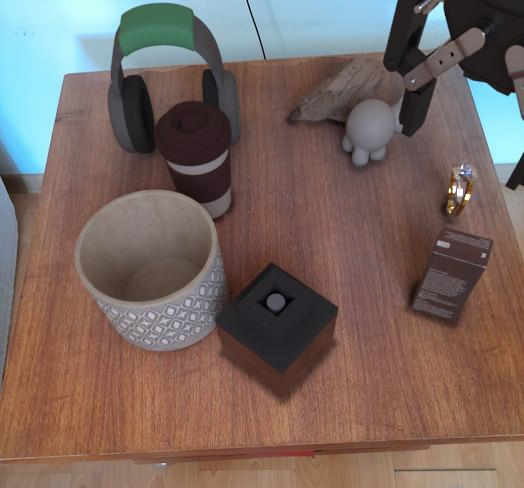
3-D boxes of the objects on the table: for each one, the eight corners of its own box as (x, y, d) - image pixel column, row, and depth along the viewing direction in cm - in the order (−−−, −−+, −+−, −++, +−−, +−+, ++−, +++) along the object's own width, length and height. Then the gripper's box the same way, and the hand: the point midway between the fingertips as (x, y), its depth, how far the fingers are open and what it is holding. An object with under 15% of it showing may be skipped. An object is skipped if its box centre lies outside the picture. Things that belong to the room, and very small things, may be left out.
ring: (438, 190, 73) (455, 147, 66) (460, 193, 72) (479, 150, 65) (436, 227, 70) (453, 186, 63) (459, 230, 70) (478, 189, 62)
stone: (386, 95, 82) (351, 43, 78) (409, 91, 75) (372, 33, 70) (320, 159, 85) (283, 112, 81) (336, 162, 77) (296, 110, 73)
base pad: (271, 266, 59) (270, 248, 55) (338, 312, 56) (341, 295, 52) (215, 323, 56) (210, 307, 53) (282, 374, 53) (281, 360, 49)
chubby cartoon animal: (424, 154, 76) (439, 106, 68) (352, 174, 75) (359, 128, 67) (404, 124, 79) (417, 74, 71) (335, 142, 78) (340, 95, 70)
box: (461, 296, 65) (496, 239, 54) (452, 323, 63) (487, 270, 52) (417, 281, 66) (442, 223, 55) (407, 308, 65) (431, 253, 54)
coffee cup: (251, 188, 75) (242, 102, 61) (222, 236, 71) (206, 156, 58) (194, 170, 77) (174, 83, 63) (163, 216, 73) (135, 134, 60)
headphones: (240, 113, 82) (226, -18, 64) (242, 161, 77) (228, 34, 59) (129, 122, 82) (84, -6, 64) (124, 170, 78) (74, 47, 60)
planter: (244, 266, 69) (236, 203, 57) (206, 369, 62) (187, 321, 51) (138, 242, 71) (109, 178, 60) (91, 339, 65) (48, 287, 53)
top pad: (275, 281, 57) (274, 266, 54) (313, 307, 55) (314, 293, 52) (238, 318, 55) (236, 305, 52) (277, 347, 53) (276, 334, 50)
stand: (273, 301, 66) (271, 266, 59) (332, 342, 63) (338, 312, 56) (223, 352, 63) (215, 323, 56) (283, 399, 60) (282, 374, 53)
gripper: (791, -133, 20) (578, 169, 35) (479, -208, 24) (407, 88, 39) (723, -48, 18) (526, 235, 32) (393, -148, 22) (351, 141, 37)
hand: (461, 154), depth 36 cm, fingers open, 8 cm apart
